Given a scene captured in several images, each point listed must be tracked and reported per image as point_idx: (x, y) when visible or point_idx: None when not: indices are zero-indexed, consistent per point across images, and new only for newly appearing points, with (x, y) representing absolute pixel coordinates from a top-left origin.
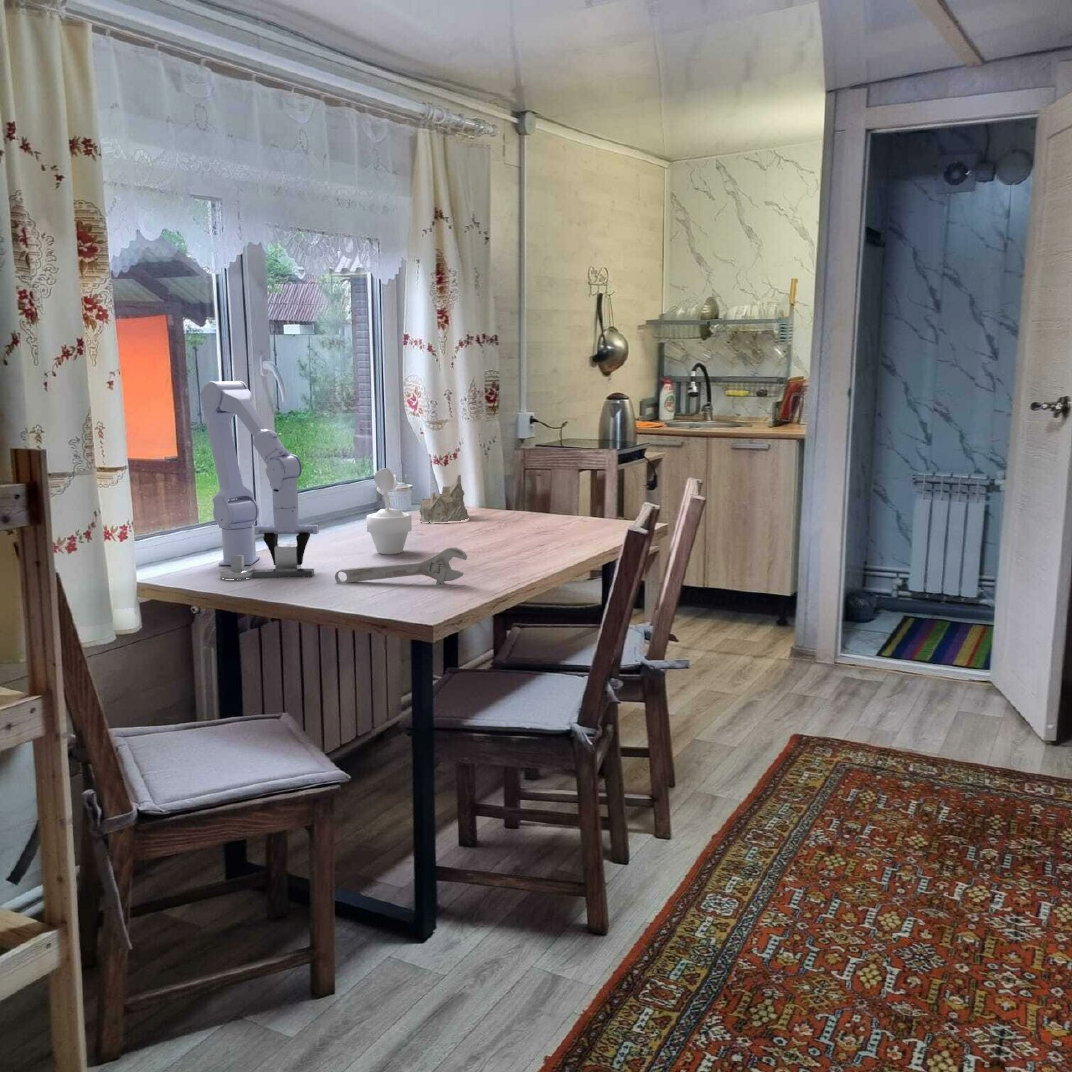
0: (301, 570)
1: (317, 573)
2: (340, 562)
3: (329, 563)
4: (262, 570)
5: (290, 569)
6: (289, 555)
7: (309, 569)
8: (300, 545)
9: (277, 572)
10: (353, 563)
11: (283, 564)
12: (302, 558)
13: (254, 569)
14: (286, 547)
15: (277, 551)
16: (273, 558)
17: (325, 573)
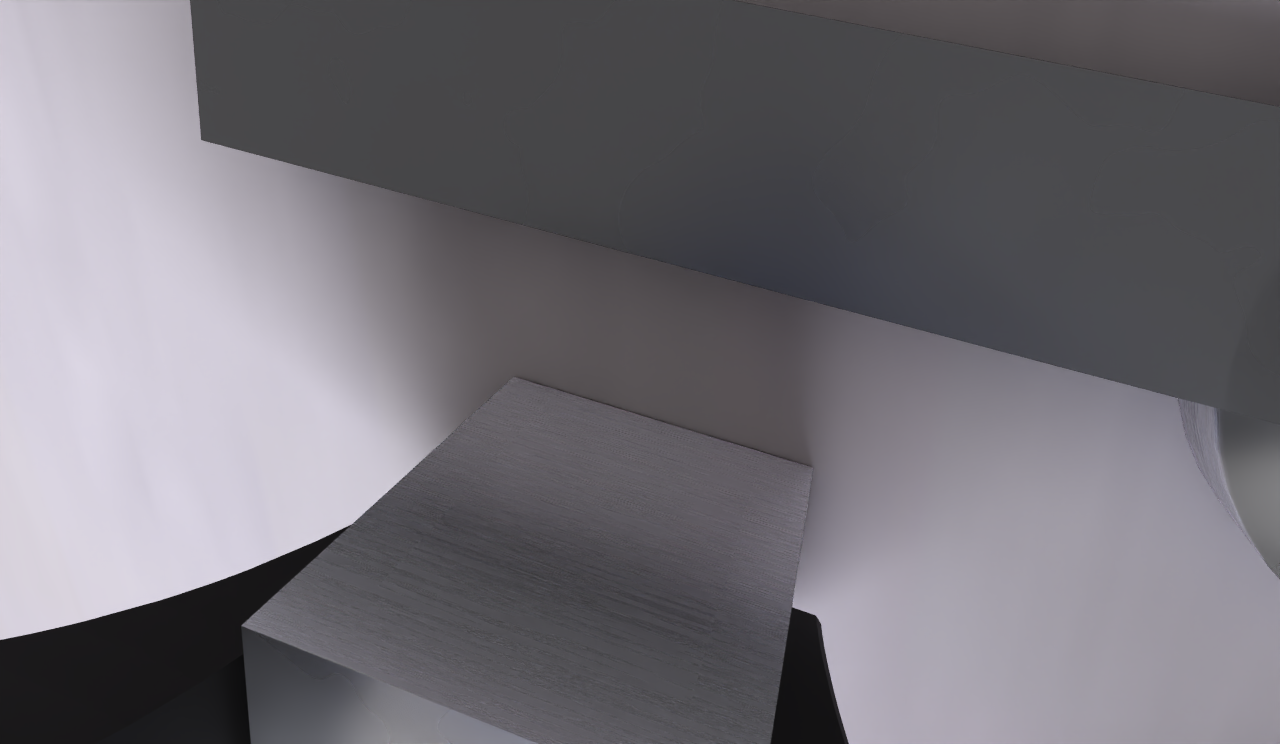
0: (357, 6)
1: (252, 204)
2: None
3: None
4: (1110, 231)
5: (552, 167)
6: (494, 552)
7: (248, 69)
8: (143, 645)
9: (802, 16)
10: (47, 592)
11: (664, 494)
12: None
13: (1262, 397)
14: (461, 703)
15: (706, 703)
16: (816, 686)
17: (158, 171)
